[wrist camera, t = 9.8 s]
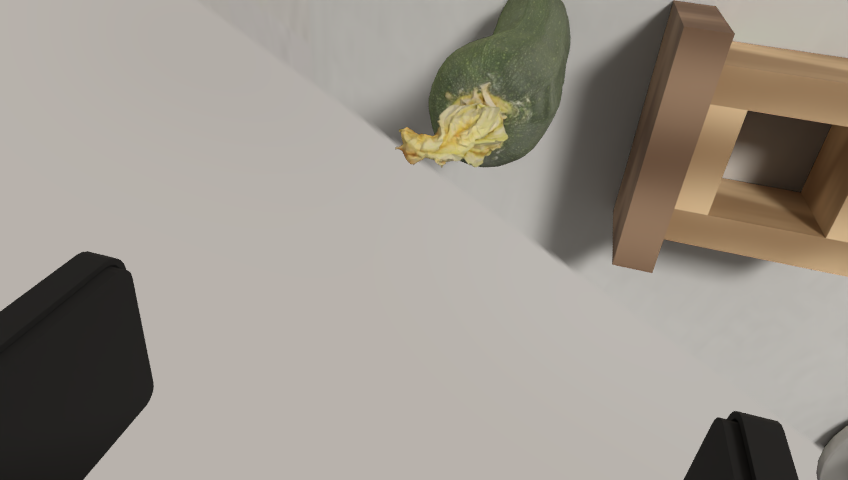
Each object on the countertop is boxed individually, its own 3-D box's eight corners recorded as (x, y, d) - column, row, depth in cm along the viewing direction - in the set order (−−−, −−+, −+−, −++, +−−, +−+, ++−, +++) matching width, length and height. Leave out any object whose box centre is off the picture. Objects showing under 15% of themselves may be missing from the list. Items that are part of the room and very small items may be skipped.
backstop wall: (647, 217, 37) (652, 272, 32) (613, 211, 37) (612, 264, 32) (715, 6, 30) (734, 33, 25) (673, 0, 31) (683, 26, 26)
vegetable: (595, 21, 32) (571, 187, 16) (535, 80, 34) (458, 279, 18) (535, -42, 31) (442, 63, 15) (477, 23, 34) (341, 175, 17)
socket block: (822, 227, 34) (849, 277, 30) (654, 195, 36) (659, 238, 32) (902, 66, 30) (949, 98, 25) (705, 37, 31) (719, 63, 27)
